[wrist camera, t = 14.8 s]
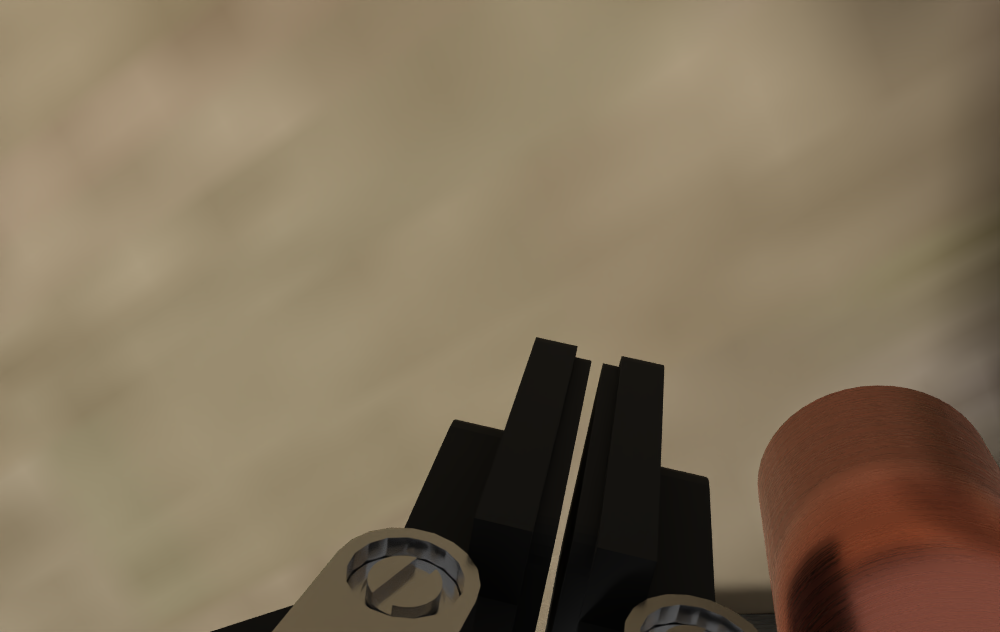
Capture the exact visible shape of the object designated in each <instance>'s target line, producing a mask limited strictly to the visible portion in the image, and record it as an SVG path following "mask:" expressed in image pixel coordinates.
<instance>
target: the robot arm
mask: <svg viewBox="0 0 1000 632" xmlns="http://www.w3.org/2000/svg"><path fill="white" fill-rule="evenodd" d="M576 352H577V346H574V345H569V344H565V343H560V342H556V341H551V340H546V339H542V338H537V337H536V339H535V342H534V345H533V348H532V351H531V354H530V357H529V360H528V363H527V366H526V369H525V371H524V374H523V377H522V380H521V383H520V386H519V389H518V392H517V395H516V398H515V401H514V404H513V407H512V409H511V412H510V415H509V418H508V421H507V424H506V427H505V430H499V429H495V428H491V427H486V426H482V425H477V424H473V423H469V422H464V421H460V420H453V422H452V424H451V426H450V428H449V430H448V432H447V435H446V437H445V439H444V441H443V443H442V446H441V448H440V450H439V452H438V455H437V457H436V459H435V461H434V463H433V466H432V468H431V470H430V472H429V475H428V477H427V479H426V481H425V483H424V486H423V488H422V490H421V492H420V495H419V497H418V499H417V501H416V503H415V506H414V508H413V510H412V512H411V515H410V517H409V519H408V521H407V523H406V526H405V528H386V529H380V530H375V531H370V532H367V533H365V534H363V535H361V536H358V537H356V538H354V539H352V540H350V541H349V542H348V543H347V544H346V545H345V546H343V547H342V548H341V549H340V550H339V551H338V552H337V553H336V554H335V555H334V557H333V558H332V559H331V560H330V562H329V563H328V564H327V565H326V566H325V568H324V569H323V570H322V571H321V573H320V574H319V575H318V576H317V577H316V579H315V580H314V581H313V582H312V584H311V585H310V586H309V587H308V588H307V590H306V591H305V592H304V593H303V595H302V596H301V597H300V598H299V599H298V601H297V602H296V603H295V604H294V605H292V606H289V607H286V608H283V609H280V610H277V611H274V612H271V613H267V614H264V615H261V616H258V617H255V618H252V619H249V620H246V621H243V622H239V623H236V624H233V625H230V626H227V627H224V628H221V629H218V630H215V631H211V632H535V630H536V625H537V621H538V616H539V612H540V607H541V603H542V598H543V594H544V589H545V585H546V580H547V576H548V571H549V567H550V562H551V558H552V553H553V548H554V544H555V539H556V534H557V530H558V525H559V520H560V515H561V510H562V505H563V500H564V495H565V490H566V485H567V480H568V475H569V470H570V465H571V460H572V455H573V450H574V445H575V441H576V436H577V431H578V426H579V421H580V416H581V411H582V406H583V401H584V396H585V391H586V386H587V381H588V376H589V371H590V366H591V361H590V360H586V359H581V358H577V357H575V356H576ZM663 388H664V365H660V364H656V363H651V362H647V361H642V360H637V359H633V358H628V357H624V356H622V357H621V360H620V364H619V367H617V366H612V365H608V364H603V366H602V370H601V374H600V378H599V383H598V387H597V392H596V396H595V400H594V405H593V409H592V414H591V418H590V422H589V427H588V431H587V436H586V440H585V444H584V449H583V453H582V458H581V462H580V466H579V471H578V475H577V480H576V484H575V488H574V493H573V497H572V502H571V506H570V510H569V515H568V519H567V524H566V528H565V533H564V537H563V542H562V546H561V551H560V556H559V561H558V566H557V572H556V577H555V582H554V588H553V593H552V598H551V603H550V609H549V614H548V619H547V625H546V630H545V632H759V631H758V630H757V629H756V628H755V627H754V626H753V625H752V624H751V623H750V622H748V621H747V620H745V619H744V618H743V617H741V616H740V615H738V614H737V613H736V612H734V611H733V610H731V609H728V608H726V607H724V606H722V605H720V604H718V603H715V590H714V570H713V550H712V529H711V509H710V489H709V480H708V478H707V477H704V476H699V475H695V474H691V473H686V472H682V471H678V470H673V469H669V468H664V467H661V443H662V416H663Z"/></svg>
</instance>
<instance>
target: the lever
mask: <svg viewBox="0 0 1000 632" xmlns="http://www.w3.org/2000/svg"><path fill="white" fill-rule="evenodd" d="M758 493H759V502H760V509H761V516H762V524H763V531H764V538H765V546H766V553H767V560H768V568H769V575H770V582H771V590H772V597H773V604H774V612H775V619H776V626H777V632H1000V469H999V467H998V465H997V463H996V462H995V460H994V458H993V457H992V455H991V453H990V451H989V450H988V448H987V446H986V445H985V443H984V441H983V439H982V438H981V436H980V434H979V433H978V432H977V430H976V429H975V428H974V426H973V425H972V424H971V423H970V422H969V421H968V420H967V419H966V418H965V417H964V416H963V415H962V414H961V413H960V412H958V411H957V410H956V409H954V408H953V407H952V406H950V405H948V404H947V403H945V402H943V401H941V400H940V399H938V398H935V397H933V396H930V395H928V394H926V393H923V392H919V391H916V390H912V389H908V388H902V387H895V386H863V387H856V388H851V389H845V390H842V391H839V392H835V393H832V394H829V395H827V396H824V397H822V398H820V399H817V400H815V401H814V402H812V403H810V404H808V405H807V406H805V407H803V408H802V409H800V410H799V411H798V412H796V413H795V414H794V415H792V416H791V417H790V418H789V419H788V420H787V421H786V422H785V423H784V424H783V425H782V426H781V427H780V428H779V430H778V431H777V432H776V433H775V435H774V436H773V437H772V439H771V441H770V442H769V444H768V446H767V448H766V450H765V452H764V455H763V457H762V460H761V464H760V468H759V473H758Z"/></svg>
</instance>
